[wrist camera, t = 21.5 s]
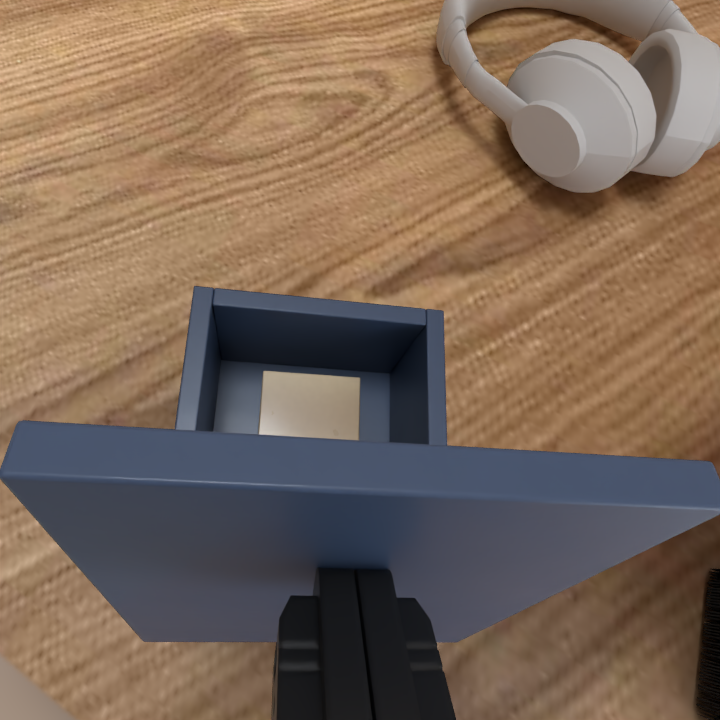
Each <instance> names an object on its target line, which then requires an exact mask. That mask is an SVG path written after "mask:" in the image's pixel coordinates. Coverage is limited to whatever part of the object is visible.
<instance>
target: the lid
mask: <svg viewBox="0 0 720 720" xmlns="http://www.w3.org/2000/svg"><path fill="white" fill-rule="evenodd" d="M0 479H1V480H2V481H3V482H4V484H5V485H6V486H7V487H8V488H9V489H10V490H11V492H12V493H13V494H14V495H15V496H16V497H17V498H18V500H19V501H20V502H21V503H22V504H23V505H24V506H25V507H26V509H27V510H28V511H29V512H30V513H31V514H32V515H33V517H34V518H35V519H36V520H37V521H38V522H39V523H40V525H41V526H42V527H43V528H44V529H45V530H46V531H47V532H48V534H49V535H50V536H51V537H52V538H53V539H54V540H55V542H56V543H57V544H58V545H59V546H60V547H61V548H62V550H63V551H64V552H65V553H66V554H67V555H68V556H69V557H70V559H71V560H72V561H73V562H74V563H75V564H76V565H77V567H78V568H79V569H80V570H81V571H82V572H83V573H84V575H85V576H86V577H87V578H88V579H89V580H90V581H91V582H92V584H93V585H94V586H95V587H96V588H97V589H98V590H99V592H100V593H101V594H102V595H103V596H104V597H105V598H106V600H107V601H108V602H109V603H110V604H111V605H112V606H113V607H114V609H115V610H116V611H117V612H118V613H119V614H120V615H121V617H122V618H123V619H124V620H125V621H126V622H127V623H128V625H129V626H130V627H131V628H132V629H133V630H134V631H135V633H136V634H137V635H138V636H139V637H140V638H141V639H142V640H143V641H144V642H277V633H278V625H279V618H280V616H281V614H282V612H283V610H284V608H285V606H286V604H287V602H288V600H289V598H290V596H291V595H298V596H312V594H313V587H314V581H315V574H316V570H317V568H350V569H353V571H354V569H381V570H390V571H391V573H392V577H393V581H394V586H395V591H396V596H397V598H416V600H417V601H418V603H419V604H420V605H421V607H422V608H423V610H424V611H425V613H426V614H427V615H428V617H429V618H430V620H431V623H432V627H433V631H434V635H435V639H436V642H458V641H460V640H463V639H465V638H467V637H469V636H471V635H473V634H475V633H477V632H479V631H481V630H483V629H485V628H487V627H489V626H491V625H493V624H495V623H497V622H500V621H502V620H504V619H506V618H508V617H510V616H512V615H514V614H516V613H518V612H520V611H522V610H524V609H526V608H528V607H530V606H532V605H534V604H537V603H539V602H541V601H543V600H545V599H547V598H549V597H551V596H553V595H555V594H557V593H559V592H561V591H563V590H565V589H567V588H569V587H571V586H574V585H576V584H578V583H580V582H582V581H584V580H586V579H588V578H590V577H592V576H594V575H596V574H598V573H600V572H602V571H604V570H606V569H608V568H610V567H613V566H615V565H617V564H619V563H621V562H623V561H625V560H627V559H629V558H631V557H633V556H635V555H637V554H639V553H641V552H643V551H645V550H647V549H650V548H652V547H654V546H656V545H658V544H660V543H662V542H664V541H666V540H668V539H670V538H672V537H674V536H676V535H678V534H680V533H682V532H684V531H687V530H689V529H691V528H693V527H695V526H697V525H699V524H701V523H703V522H705V521H707V520H709V519H711V518H713V517H715V516H717V515H719V514H720V479H719V477H718V475H717V472H716V470H715V467H714V465H713V464H712V463H711V462H710V461H698V460H681V459H665V458H648V457H631V456H614V455H597V454H580V453H563V452H547V451H530V450H513V449H496V448H479V447H462V446H445V445H429V444H412V443H395V442H378V441H361V440H344V439H327V438H311V437H294V436H277V435H260V434H243V433H226V432H209V431H193V430H176V429H159V428H142V427H125V426H108V425H91V424H75V423H58V422H41V421H24V420H23V421H19V422H18V423H17V424H16V427H15V430H14V433H13V435H12V438H11V441H10V444H9V446H8V449H7V452H6V455H5V457H4V460H3V463H2V466H1V468H0Z"/></svg>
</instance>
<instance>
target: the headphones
mask: <svg viewBox="0 0 720 720" xmlns="http://www.w3.org/2000/svg"><path fill="white" fill-rule="evenodd" d="M521 7H531V8H542V9H554V10H557V11H561V12H564V13H567V14H572V15H577V16H581V17H585V18H587V19H589V20H591V21H594V22H596V23H598V24H600V25H602V26H605V27H607V28H609V29H611V30H614V31H616V32H618V33H621V34H623V35H625V36H628V37H630V38H633V39H636V40H639V41H642V43H641V44H640V45H639V47H638V48H637V49H636V51H635V52H634V54H633V55H632V56H631V58H630V60H629V62H628V61H627V60H626V59H625V58H624V57H623V56H622V55H620V54H619V53H617V52H615V51H613V50H611V49H609V48H607V47H605V46H603V45H601V44H599V43H596V42H590V41H584V40H578V39H571V40H565V41H560V42H555V43H553V44H551V45H549V46H547V47H546V48H544V49H542V50H540V51H539V52H537V53H535V54H534V55H532V56H531V57H529V58H528V59H526V60H525V61H523V62H522V63H520V64H519V65H518V67H517V68H516V70H515V71H514V73H513V74H512V76H511V77H510V79H509V82H508V85H507V87H506V86H505V85H503V84H502V83H501V82H500V81H499V80H497V79H496V78H495V77H493V76H492V75H490V74H489V73H488V72H486V71H485V70H484V68H483V67H482V66H481V65H480V64H479V63H478V59H477V57H476V56H475V54H474V52H473V49H472V47H471V44H470V42H469V39H468V37H467V31H466V28H467V27H468V26H469V25H470V24H471V23H473V22H474V21H476V20H477V19H479V18H481V17H482V16H484V15H486V14H490V13H493V12H496V11H500V10H503V9H510V8H521ZM436 42H437V48H438V51H439V53H440V56H441V58H442V60H443V62H444V64H446V65H447V64H449V66H450V67H452V68H453V70H454V72H455V74H456V76H457V77H458V79H459V80H460V82H461V83H462V84H463V86H464V87H465V88H467V89H468V91H469V92H470V93H471V94H472V95H473V96H474V97H475V98H476V99H477V100H479V101H480V102H481V103H483V104H484V105H485V106H486V107H487V108H489V109H490V110H491V111H492V112H493V113H495V114H496V115H497V116H498V117H499V118H500V119H502V120H503V121H504V122H505V125H506V128H507V130H508V133H509V136H510V139H511V142H512V144H513V145H514V147H515V148H516V150H517V151H518V153H519V155H520V156H521V158H522V159H523V161H524V162H525V163H526V164H527V165H528V166H529V167H530V168H531V169H532V170H533V171H534V172H535V173H536V174H537V175H539V176H540V177H542V178H543V179H545V180H546V181H548V182H550V183H551V184H553V185H554V186H557V187H560V188H563V189H566V190H569V191H572V192H583V193H593V192H596V191H599V190H602V189H605V188H609V187H610V186H612V185H613V184H614V183H616V182H617V181H618V180H619V179H621V178H622V177H623V176H624V175H626V174H627V173H628V172H629V171H634V172H640V173H646V174H652V175H658V176H668V177H674V176H677V175H680V174H682V173H685V172H686V171H687V170H688V169H689V168H691V167H692V166H693V165H694V164H695V163H696V162H697V161H698V160H699V159H700V157H701V156H702V154H703V153H704V151H706V150H708V149H711V148H713V147H714V146H715V145H716V144H717V143H718V142H719V141H720V48H719V46H718V45H717V44H716V43H714V42H711V41H710V40H709V39H708V38H706V37H704V36H702V35H699V34H698V33H697V32H696V30H695V29H694V27H693V26H692V25H691V24H690V22H689V21H688V20H687V19H686V18H685V17H684V15H683V14H682V13H681V12H680V8H679V7H678V6H677V5H676V4H675V3H674V2H673V1H672V0H445V1H444V4H443V7H442V10H441V13H440V18H439V23H438V29H437V38H436Z"/></svg>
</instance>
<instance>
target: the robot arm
mask: <svg viewBox="0 0 720 720" xmlns="http://www.w3.org/2000/svg"><path fill="white" fill-rule="evenodd" d="M271 719H272V720H456V717H455V713H454V709H453V706H452V702H451V698H450V694H449V690H448V686H447V682H446V678H445V674H444V672H443V671H442V662H441V659H440V655H439V651H438V650H437V643H436V639H435V635H434V631H433V627H432V623H431V620H430V618H429V617H428V615H427V614H426V613H425V611H424V610H423V608H422V607H421V605H420V604H419V603H418V601H417V600H416V598H397V596H396V591H395V586H394V581H393V577H392V573H391V571H390V570H381V569H354V571H353V569H350V568H317V570H316V574H315V581H314V587H313V594H312V596H298V595H291V596H290V598H289V600H288V602H287V604H286V606H285V608H284V610H283V612H282V614H281V616H280V618H279V625H278V633H277V642H276V650H275V658H274V666H273V688H272V717H271Z"/></svg>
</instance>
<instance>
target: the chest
mask: <svg viewBox="0 0 720 720" xmlns="http://www.w3.org/2000/svg"><path fill="white" fill-rule="evenodd" d="M263 371H276V372H289V373H303V374H317V375H331V376H344V377H358V378H360V423H359V440H361V441H378V442H395V443H412V444H429V445H445V446H447V424H446V386H445V349H444V312H443V311H442V310H432V309H426V310H425V309H421V308H411V307H401V306H391V305H380V304H370V303H360V302H350V301H340V300H330V299H320V298H310V297H300V296H289V295H279V294H269V293H259V292H249V291H239V290H229V289H219V288H215V289H214V288H210V287H200V286H195V287H194V290H193V297H192V305H191V312H190V319H189V327H188V334H187V341H186V349H185V356H184V363H183V371H182V378H181V385H180V393H179V400H178V408H177V415H176V422H175V429H176V430H193V431H209V432H226V433H243V434H258V427H259V414H260V402H261V390H262V377H263Z"/></svg>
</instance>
